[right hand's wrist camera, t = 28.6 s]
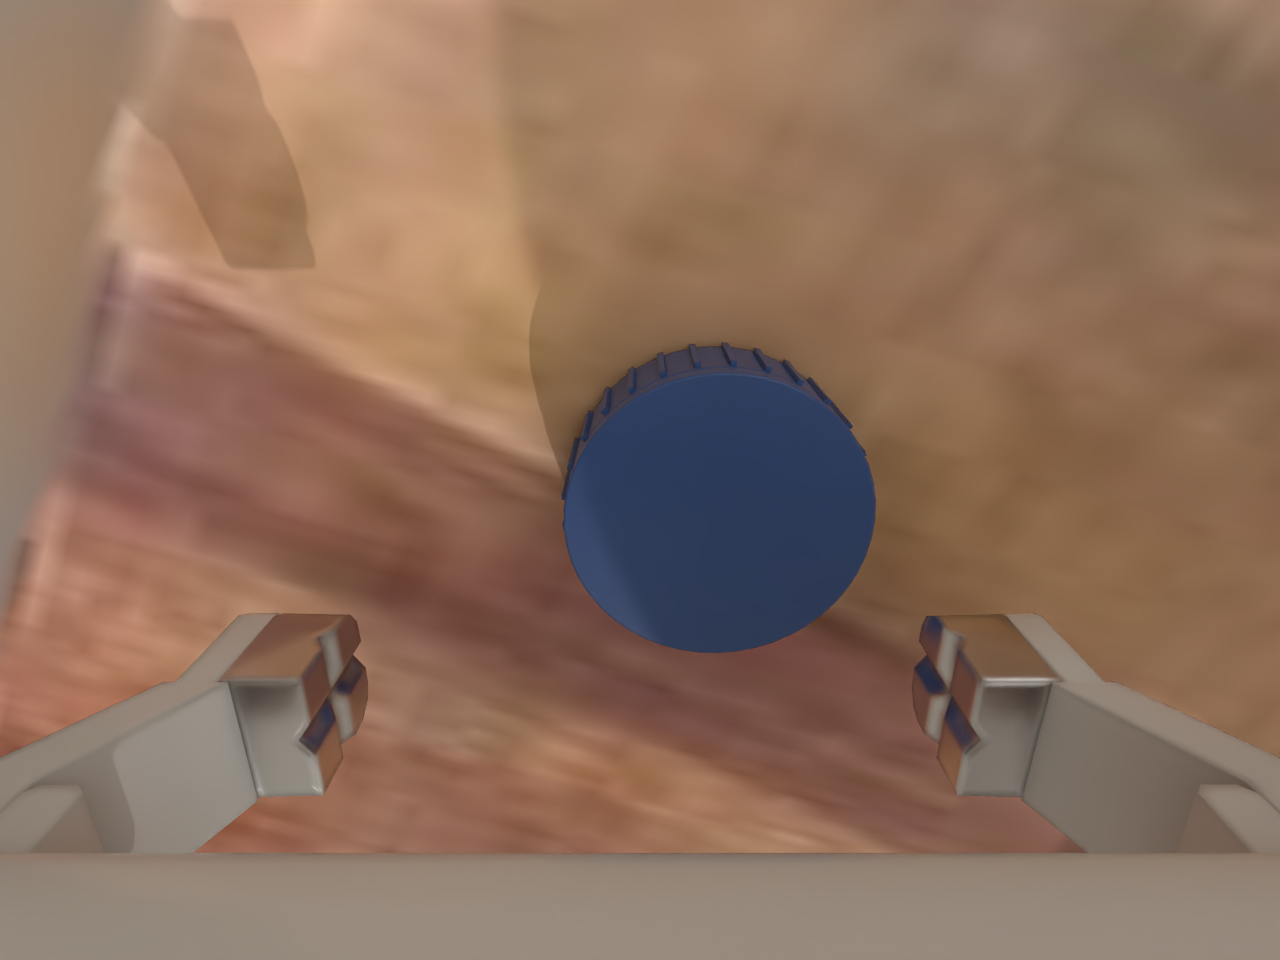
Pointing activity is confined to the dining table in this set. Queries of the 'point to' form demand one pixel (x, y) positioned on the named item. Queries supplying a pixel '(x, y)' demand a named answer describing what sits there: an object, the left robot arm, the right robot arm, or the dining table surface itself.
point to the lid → (717, 500)
